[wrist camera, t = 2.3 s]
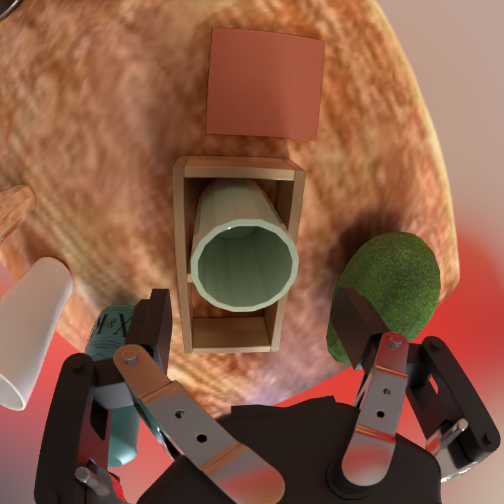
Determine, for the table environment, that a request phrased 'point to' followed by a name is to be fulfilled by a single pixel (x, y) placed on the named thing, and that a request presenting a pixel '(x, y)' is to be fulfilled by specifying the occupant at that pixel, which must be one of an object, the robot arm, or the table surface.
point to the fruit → (392, 284)
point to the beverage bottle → (104, 346)
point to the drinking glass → (30, 327)
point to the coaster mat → (264, 84)
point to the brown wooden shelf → (193, 329)
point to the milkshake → (14, 209)
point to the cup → (241, 247)
